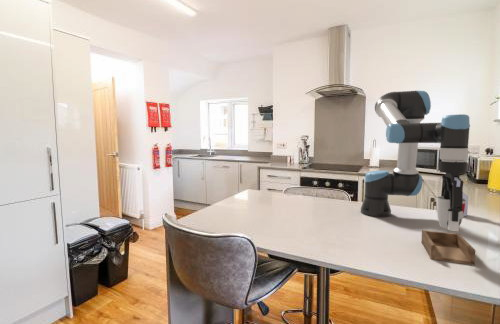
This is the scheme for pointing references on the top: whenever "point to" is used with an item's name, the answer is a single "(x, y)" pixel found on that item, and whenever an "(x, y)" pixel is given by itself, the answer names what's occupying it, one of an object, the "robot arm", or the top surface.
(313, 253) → the top surface
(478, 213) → the top surface
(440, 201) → the cup
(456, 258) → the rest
